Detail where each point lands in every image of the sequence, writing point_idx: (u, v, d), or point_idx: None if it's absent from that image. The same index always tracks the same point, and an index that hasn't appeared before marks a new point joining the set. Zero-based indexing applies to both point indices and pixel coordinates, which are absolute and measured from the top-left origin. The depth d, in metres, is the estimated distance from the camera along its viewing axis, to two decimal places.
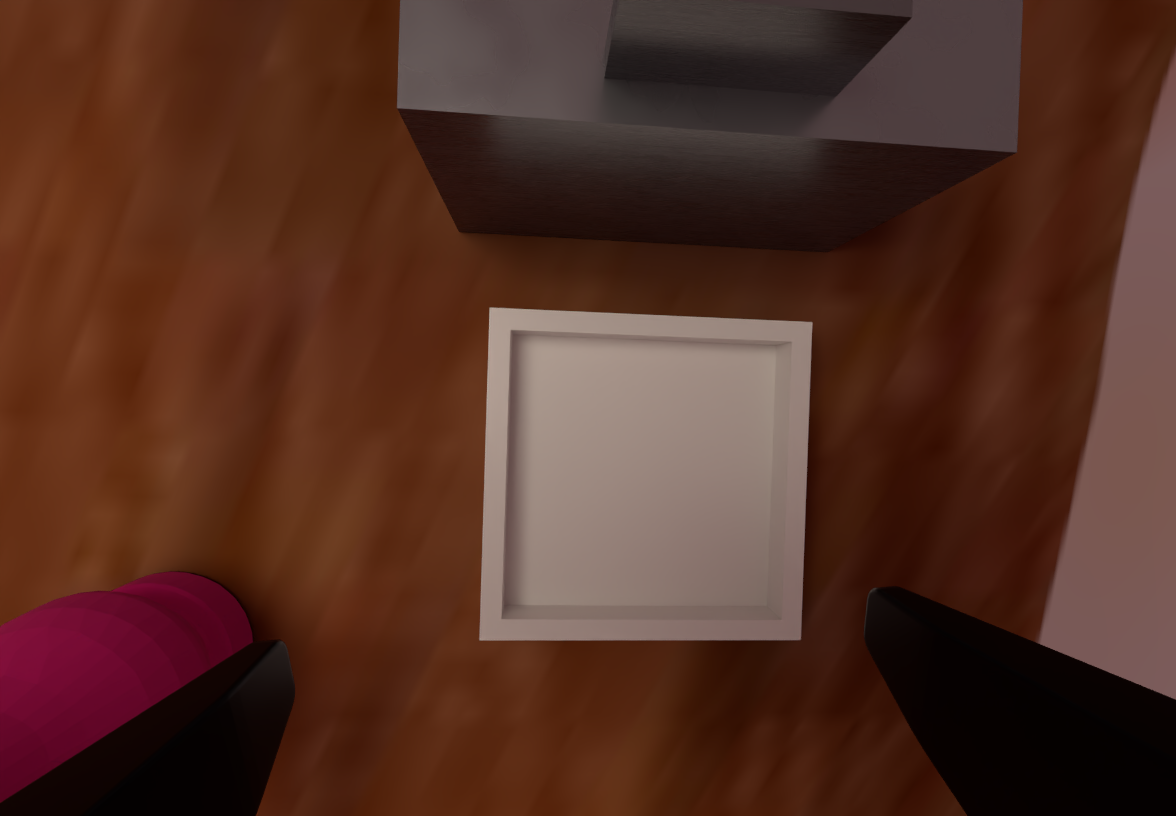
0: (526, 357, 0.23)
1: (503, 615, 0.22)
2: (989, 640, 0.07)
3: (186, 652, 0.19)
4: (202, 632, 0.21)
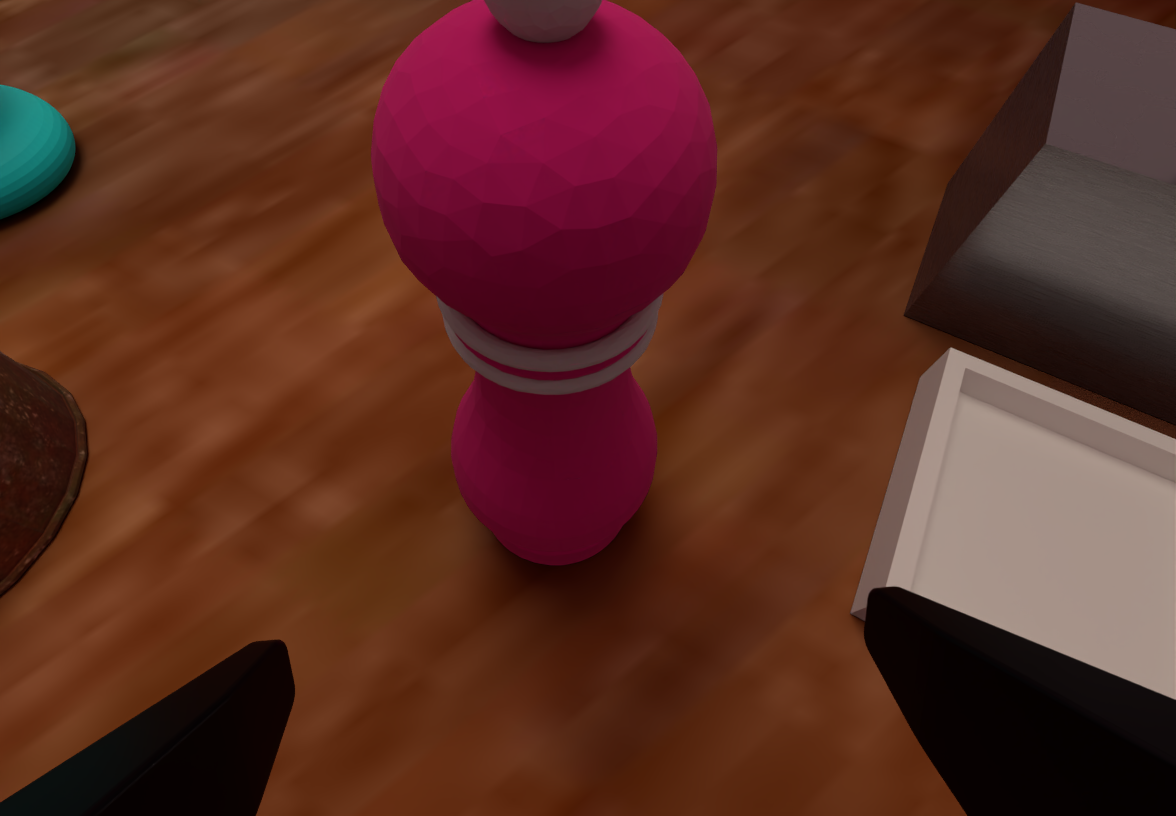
0: None
1: None
2: (989, 640, 0.07)
3: None
4: None
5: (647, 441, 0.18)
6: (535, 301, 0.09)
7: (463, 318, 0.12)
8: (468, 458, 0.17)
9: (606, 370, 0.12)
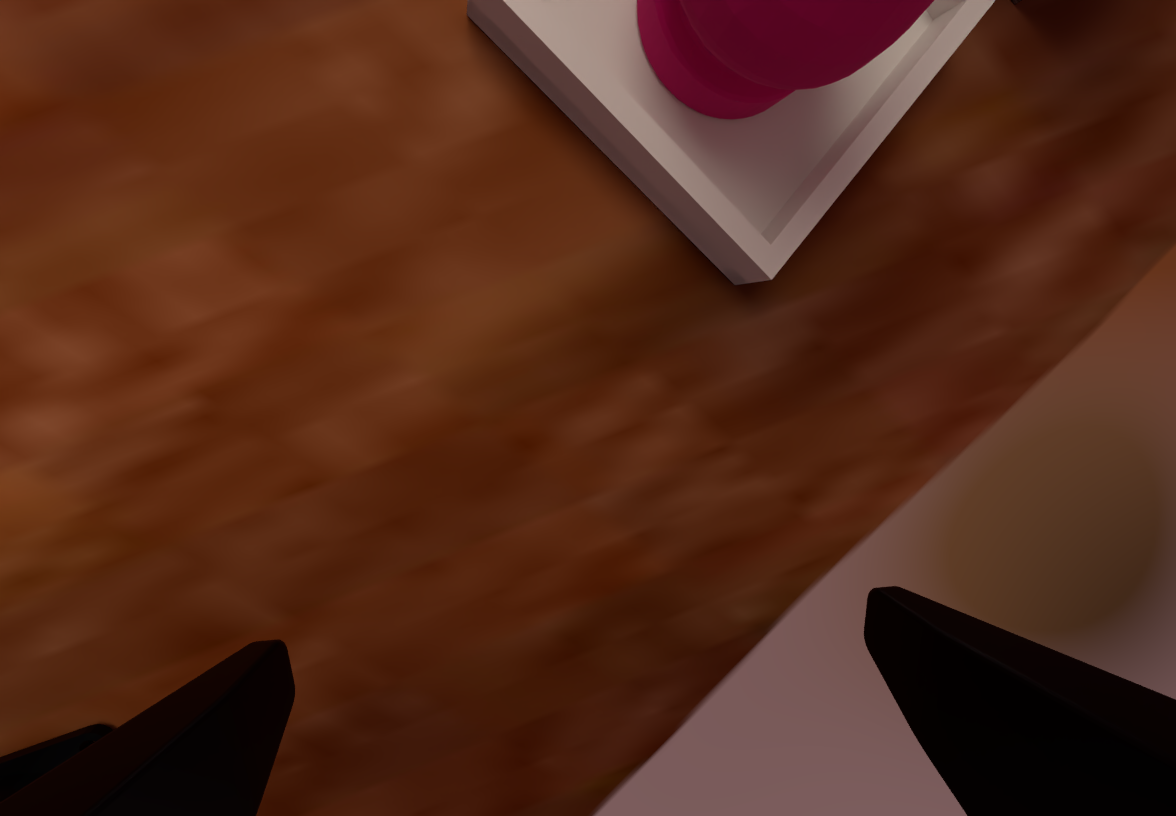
0: None
1: None
2: (989, 640, 0.07)
3: None
4: None
5: (917, 5, 0.13)
6: None
7: None
8: None
9: None
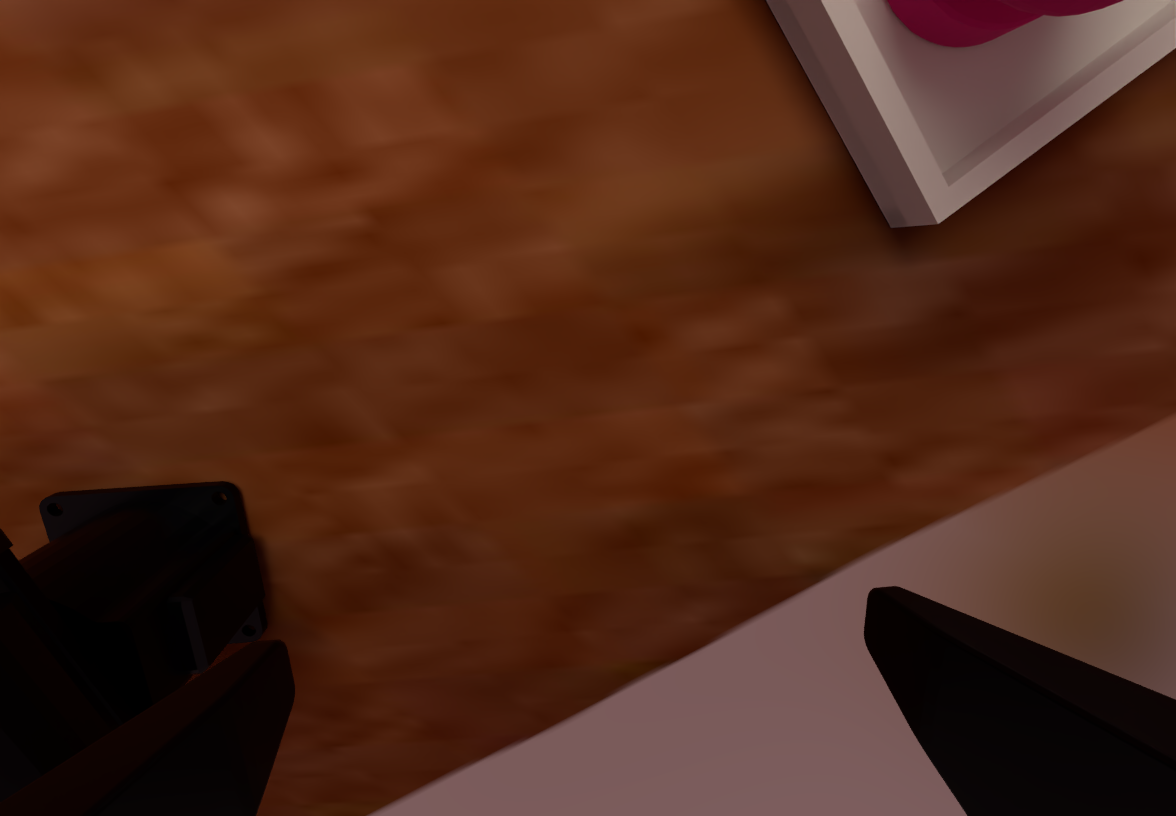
0: None
1: None
2: (989, 640, 0.07)
3: None
4: None
5: None
6: None
7: None
8: None
9: None
